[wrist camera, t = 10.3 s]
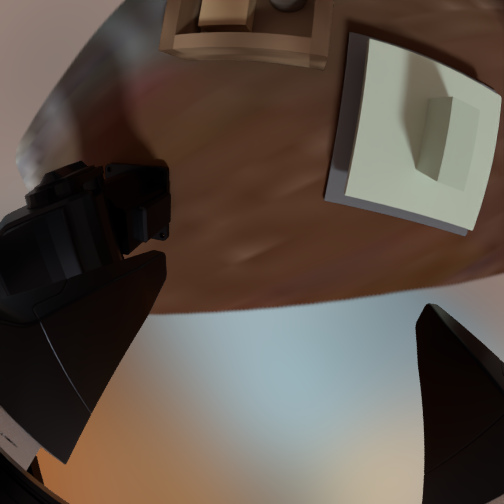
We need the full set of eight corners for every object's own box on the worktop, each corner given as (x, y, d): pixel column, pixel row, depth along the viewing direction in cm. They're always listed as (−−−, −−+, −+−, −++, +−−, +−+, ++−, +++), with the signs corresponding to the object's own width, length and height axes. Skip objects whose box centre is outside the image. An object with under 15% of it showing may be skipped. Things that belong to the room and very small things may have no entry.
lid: (341, 187, 19) (352, 212, 14) (363, 46, 14) (382, 22, 9) (460, 220, 18) (494, 251, 13) (486, 96, 13) (529, 98, 8)
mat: (324, 199, 20) (324, 200, 20) (349, 32, 14) (349, 31, 14) (463, 235, 18) (465, 236, 18) (495, 92, 12) (496, 92, 12)
